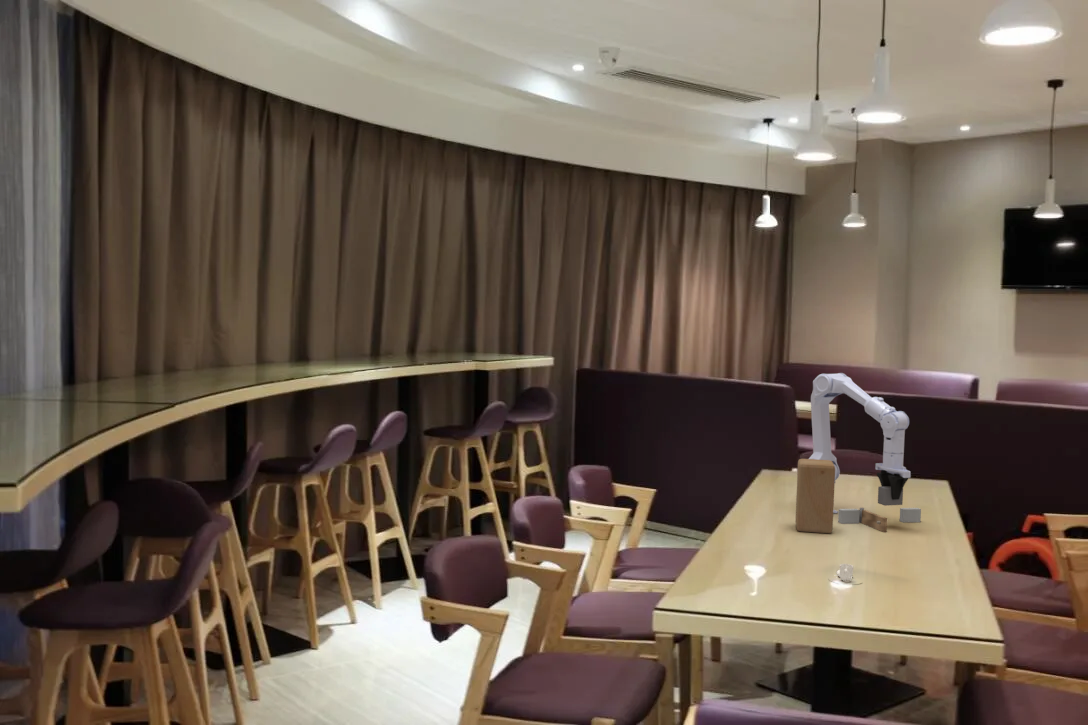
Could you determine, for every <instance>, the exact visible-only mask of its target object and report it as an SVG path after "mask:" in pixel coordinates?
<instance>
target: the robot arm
mask: <svg viewBox="0 0 1088 725" xmlns="http://www.w3.org/2000/svg"><path fill="white" fill-rule="evenodd" d="M842 394H845V395H847V397H849V398H851V399H853V400H854V401H855V402H857V403H858V404H860V405H862V406H863V407H864V412H865V413H866V414H867V415H869V416H871V417H872V418H873V419H874V420H876V421H877V422H878V423H880V427H881V429H882V432H883V433H882V434H883V452H882V462H879V463H878V462H877V463H875V468H874V469H875V470H876V471H880V472H876V476H877V478H878V480H879V482H880V486H891V497H892V499H893V500H895V499H899V498H900V495H901V492H902V489H903V490H904V486H905V485H906V483H907V482H908V480H909V479H911V476H912V475H911V471H910V470H908V469H907V467H906V466H904V457H905V456H904V455H905V454H904V453H905V434H906V430H907V429H908V427H909V425H910V418H909V416H908V415H907V413H906V412H905V411H902V410H898V411H897V410H896V408H895V407H894V406H890V405H889V404H888V403H886V402H885V401H884V398H883V397H882V396H881V397H880V396H879V397H878V396H873V397H872V396H871V395H869V394H868V393H867V392H866V391H864V390H863V389H862V388H861V387H860V386H859V385H857V384H856V383H855V382H854V381H853V380H852V378H851V377H849V376H847V374H845V373H843V372H838V373H821V374H818V375H817V376H816V377H815V378H814V379H813V381H812V393H811V394H810V413H811V428H812V429H811V430H812V450H813V451H812V452H813V453H812V454H811V455H810V456H809V458H808V459H817V460H830V461H832V462H833V464H834V466H835V481H836V480H838V479H839V476H840V475H841V474H840V473H841V470H840V467H839V464H838V462H837V459H838V458H837V457H836V456H835V455H834V453H833V452H832V442H831V441H832V440H831V416H830V403H831V402H832V401H833V400H834V399H835V398H836V397H838V396H839V395H842ZM833 514H839V510H836V509H834V508H833Z"/></svg>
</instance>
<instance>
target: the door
mask: <svg viewBox="0 0 1088 725" xmlns="http://www.w3.org/2000/svg"><path fill="white" fill-rule="evenodd" d="M861 524H863V525H865V526H867V525H868V527H869V528H873V529H875V530H877V531H880V532H883V533H887V530H888V529H887V528H888V517H884V516H883V515H879V514H877V513H874V512H871V511H869V510H866V509H864V510H862V523H861Z"/></svg>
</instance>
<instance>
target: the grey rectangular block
mask: <svg viewBox="0 0 1088 725" xmlns="http://www.w3.org/2000/svg"><path fill="white" fill-rule="evenodd" d="M877 494H878V495H877V504H879V505H881V506H884V507H885V506H903V503H904V502H903V500H904V488H903V489H902V492H901V495H900V498H899V499H895V500H893V499H892V497H891V486H881V485H880V486H878V490H877Z"/></svg>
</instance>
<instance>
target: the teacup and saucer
mask: <svg viewBox="0 0 1088 725" xmlns="http://www.w3.org/2000/svg"><path fill="white" fill-rule="evenodd" d="M853 574H854V565H852V564H849V563H840V564H839V569H838V570H836V572H835V575H836V576H839V577H838V578H839V579H840V581H841V580H843V581H842V582H844V581H850V582H851V581H852V577H853Z"/></svg>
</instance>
